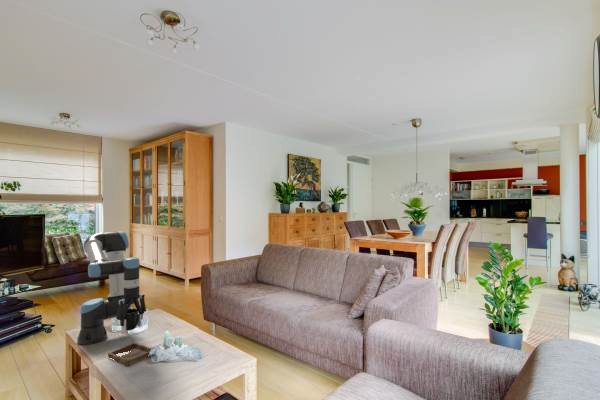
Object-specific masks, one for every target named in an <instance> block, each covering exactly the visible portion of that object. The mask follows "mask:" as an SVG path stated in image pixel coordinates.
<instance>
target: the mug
mask: <svg viewBox="0 0 600 400" xmlns="http://www.w3.org/2000/svg"><path fill="white" fill-rule="evenodd" d="M139 318H140V315H139V313H138V309H137V308H131V309H128V311H127V314H126V316H125V319H126V332H127V331H133V330H135V329H136V328H137V327H138V326H137V324H138V321H139Z"/></svg>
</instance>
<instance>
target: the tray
mask: <svg viewBox="0 0 600 400" xmlns="http://www.w3.org/2000/svg"><path fill="white" fill-rule="evenodd" d="M151 349H153V348H152V347H149V346H146V345H144V344H141V343H138V342H136V341H134V342H132V343H130V344H128V345H125V346H123V347H120V348H118V349H115V350H113V351H111V352H108V353H107V358H108V357H109V358H112V359H114V360H115V361H114V360H113V361H114V362H116V361H117V362H116V363H119V364H121V365H124V366H126V367H131V366H133V365H135V364H136V363H139V362H141V361H143V360H145V359H148V358H149V357H148V355H149V352H150V350H151ZM128 351H129V353H128V354H125V355H122V356H121V357H120V356H117V355H116V354H118V353H123V352H128ZM130 351H131V352H130ZM109 358H108V359H109Z"/></svg>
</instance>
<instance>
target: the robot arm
mask: <svg viewBox="0 0 600 400" xmlns="http://www.w3.org/2000/svg"><path fill="white" fill-rule="evenodd" d="M129 243H130V242H129V238H128V235H127V233H126V232H125V231H118V230H117V231H107V232H106V231H105V232H96V233H93V234H92V235H90V236H88V237H87V238H86V239H85V241H84V243H83V246H82V247H83V250H84V252H85V253H86V255H87V257H88V259H89V263H88V266H87V273H88V277H89V278H99V277H105V276H108V279H109V280H108V282H109V284H108V285H109V294H108V295H107V296H106V299H104V298H102V297H99V298H92V299H90V300H87V301H85V302H84V303H82V304H81V306H80V330H79V332H78V336H77V340H76V341H77V344H78V345H80V346H81V345H85V346H86V345H87V346H88V345H93V344H97V343H99V342H102V341H104V340H106V339H107V337H108V332H107V329H106V327H105V324H104V321H105V320H109V319H114V318H115V319H116V320H117V321H119V325H120V327H121V332H122V333H127V331H126V319H125V316H126V314H127V311H128V309H132V305H134V306H135V309H138V314H139V315H140V318H139V321H138V324H137V326H136V327H140V328H141V327H142V325H143V324H142V323H143V322H142V321H143V317H144V314H145V312H147V307H146V302H145V296H146V295H145V294H142V293H140V258H139V257H137V256H136V257H135V256H134V257H132V256H131V257H126V258H124V255H125V253H126V252H127V249H129ZM104 252H105V254H106V255H107V257H108V261H107V257H106V256H105V254H104Z"/></svg>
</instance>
